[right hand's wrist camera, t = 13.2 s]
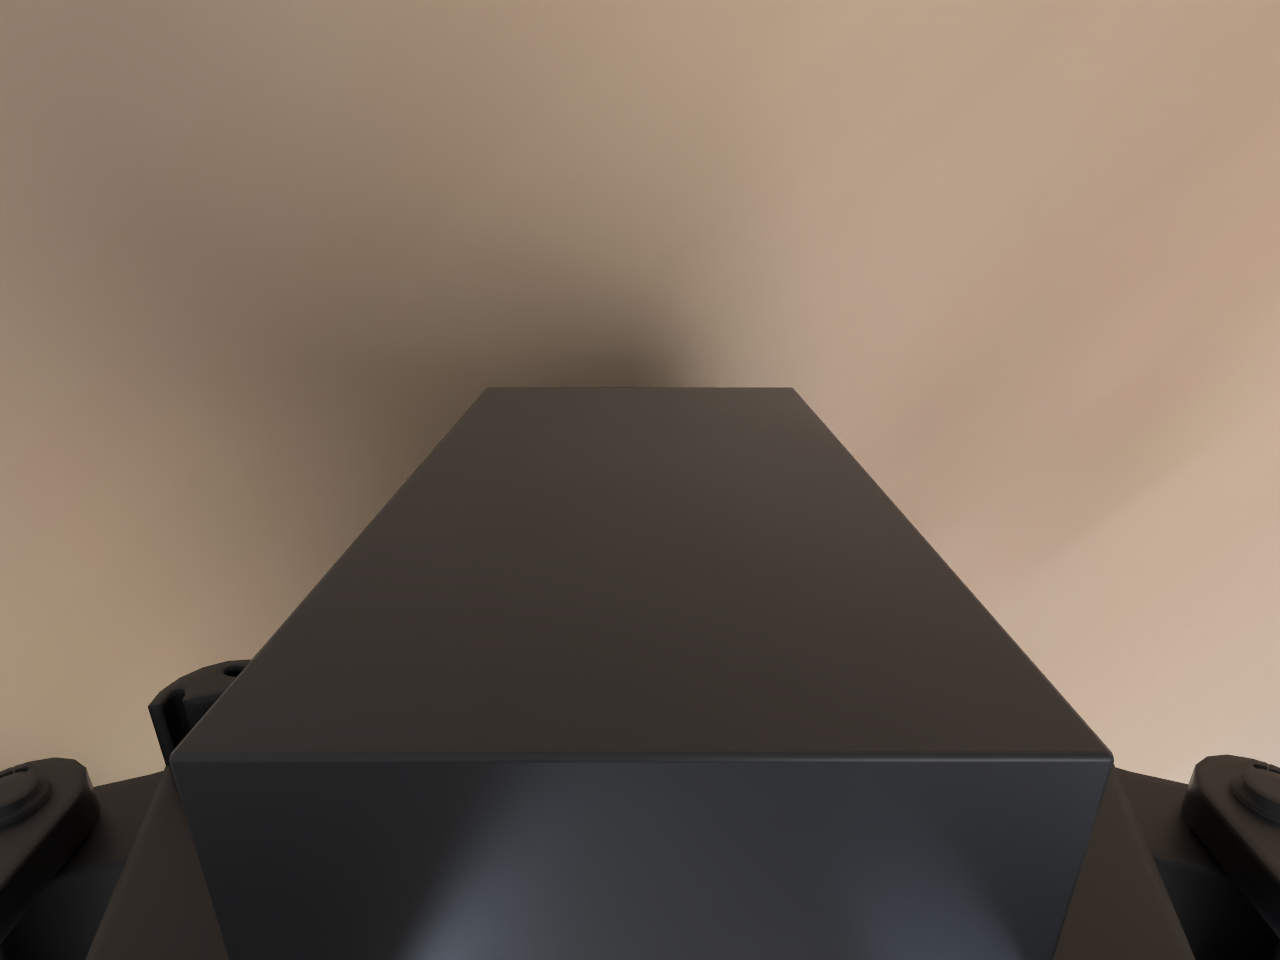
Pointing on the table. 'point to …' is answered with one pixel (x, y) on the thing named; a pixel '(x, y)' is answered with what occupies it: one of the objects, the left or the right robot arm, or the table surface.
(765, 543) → the box
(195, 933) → the right robot arm
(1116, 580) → the table surface
